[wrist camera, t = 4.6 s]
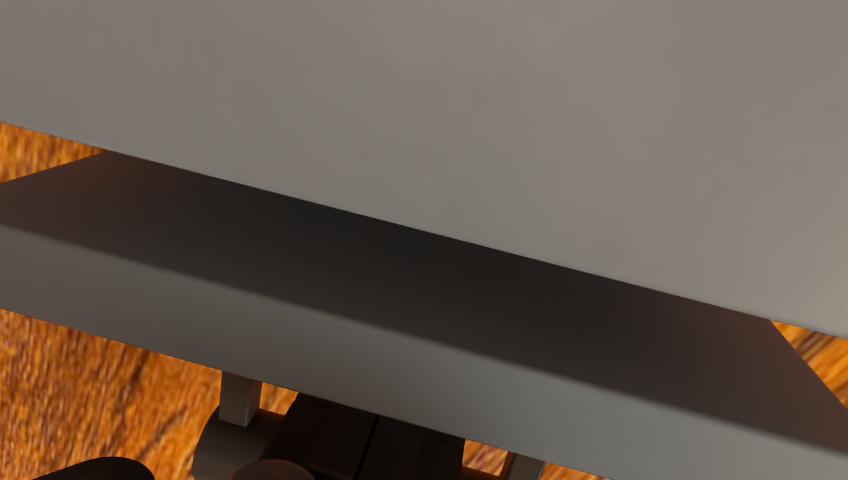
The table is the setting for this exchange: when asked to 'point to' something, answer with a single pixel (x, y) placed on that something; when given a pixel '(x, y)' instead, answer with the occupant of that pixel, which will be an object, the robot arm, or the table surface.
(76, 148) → the table surface
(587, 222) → the cabinet
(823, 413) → the drawer
